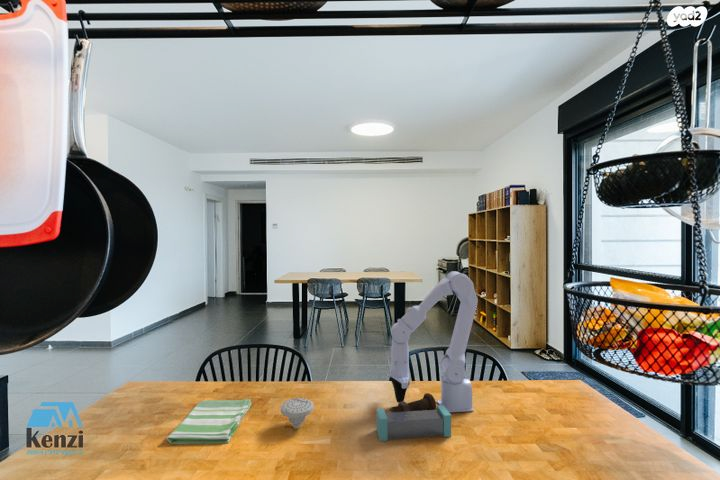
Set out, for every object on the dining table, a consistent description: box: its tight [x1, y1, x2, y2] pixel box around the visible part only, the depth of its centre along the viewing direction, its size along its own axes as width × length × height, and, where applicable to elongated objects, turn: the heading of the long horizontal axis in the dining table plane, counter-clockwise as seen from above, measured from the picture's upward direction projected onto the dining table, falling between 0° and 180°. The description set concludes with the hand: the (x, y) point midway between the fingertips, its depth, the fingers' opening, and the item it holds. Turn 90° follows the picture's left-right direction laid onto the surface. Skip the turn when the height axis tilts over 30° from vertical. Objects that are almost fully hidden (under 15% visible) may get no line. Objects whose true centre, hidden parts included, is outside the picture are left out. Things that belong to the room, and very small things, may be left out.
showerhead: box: [280, 397, 314, 429], centre depth 104 cm, size 9×7×10 cm
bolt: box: [388, 392, 437, 412], centre depth 112 cm, size 6×5×15 cm
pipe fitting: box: [376, 404, 452, 442], centre depth 101 cm, size 20×6×6 cm, turn 97°
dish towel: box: [165, 398, 252, 445], centre depth 107 cm, size 18×23×3 cm
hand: (399, 401), depth 117 cm, fingers closed
